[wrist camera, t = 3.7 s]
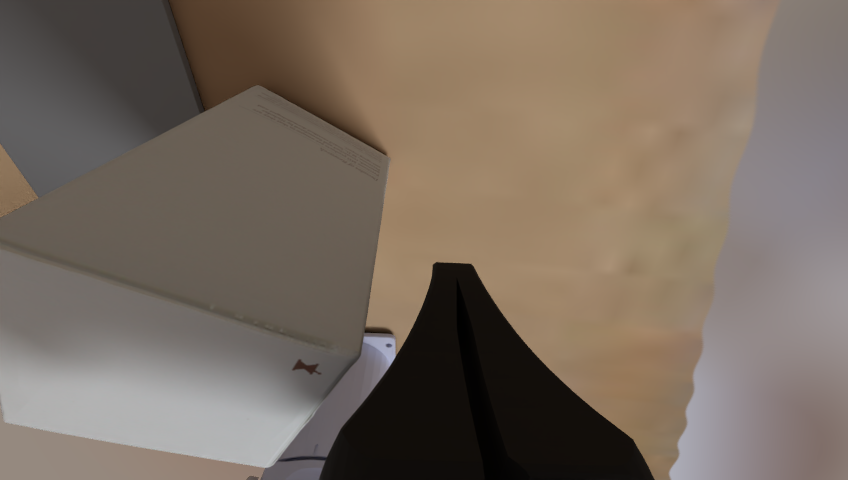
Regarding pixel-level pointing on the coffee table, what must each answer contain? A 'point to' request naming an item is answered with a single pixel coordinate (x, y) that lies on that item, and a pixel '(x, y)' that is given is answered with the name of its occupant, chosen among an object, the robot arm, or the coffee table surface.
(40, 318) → the supplement box
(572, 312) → the coffee table surface
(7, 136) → the mat
